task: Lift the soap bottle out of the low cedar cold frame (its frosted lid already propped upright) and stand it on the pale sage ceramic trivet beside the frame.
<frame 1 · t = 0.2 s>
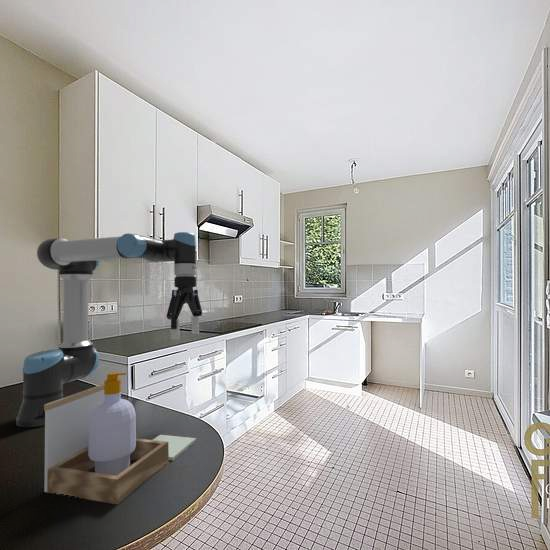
hand: (185, 336, 122), 28 cm above the counter, fingers open, 13 cm apart
trivet: (166, 448, 97), on the counter
cold frame: (112, 475, 82), on the counter
soap bottle: (112, 476, 82), resting in cold frame
lid: (80, 431, 86), on the counter
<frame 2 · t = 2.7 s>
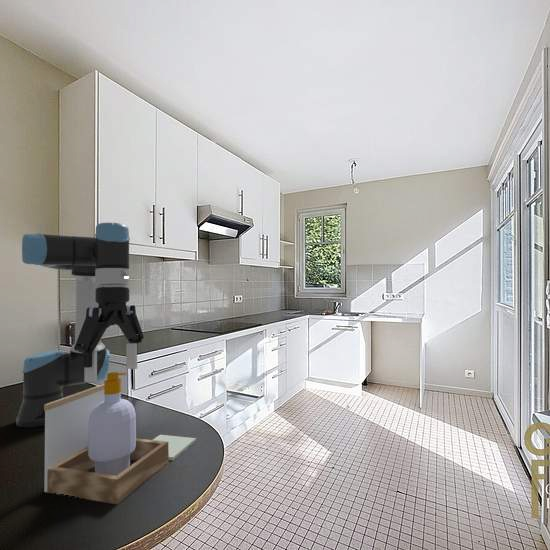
hand: (112, 374, 83), 24 cm above the counter, fingers open, 13 cm apart
nothing on the counter moved.
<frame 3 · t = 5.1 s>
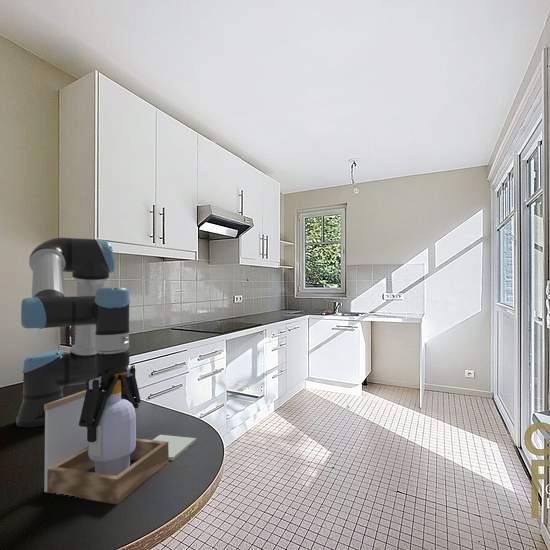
hand: (112, 444, 83), 7 cm above the counter, fingers closed on soap bottle, 10 cm apart
soap bottle: (112, 476, 82), resting in cold frame, touching gripper
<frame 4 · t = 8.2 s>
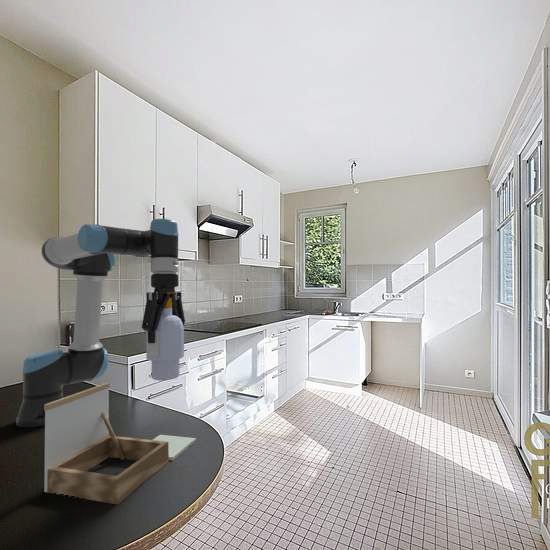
hand: (165, 351, 98), 27 cm above the counter, fingers closed on soap bottle, 10 cm apart
soap bottle: (165, 378, 98), point 19 cm above the counter, touching gripper
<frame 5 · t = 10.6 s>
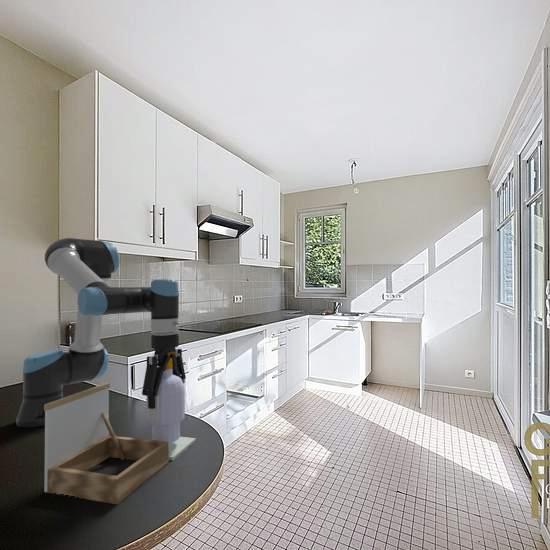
hand: (165, 413, 97), 10 cm above the counter, fingers closed on soap bottle, 10 cm apart
soap bottle: (166, 440, 97), point 2 cm above the counter, touching gripper
when the fingers open (9 cm above the counter, at t = 11.7 s): soap bottle drops 1 cm, resting on trivet.
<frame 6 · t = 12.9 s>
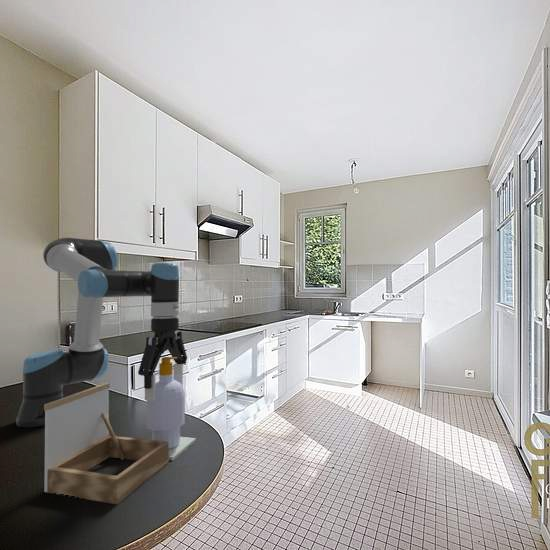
hand: (164, 392, 98), 15 cm above the counter, fingers open, 13 cm apart
soap bottle: (166, 445, 97), point 1 cm above the counter, touching trivet
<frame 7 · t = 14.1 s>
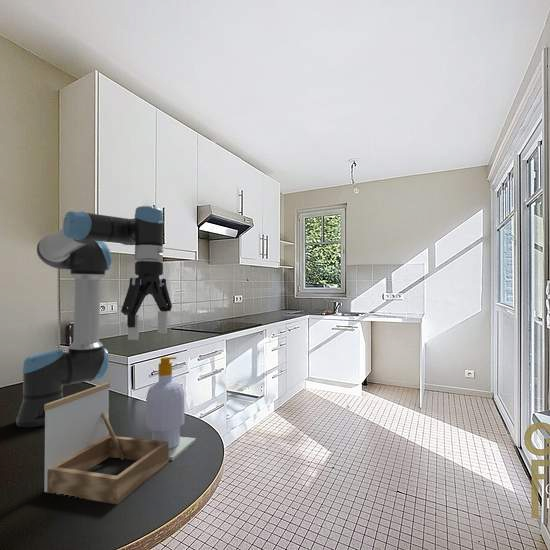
hand: (148, 336, 98), 31 cm above the counter, fingers open, 13 cm apart
nothing on the counter moved.
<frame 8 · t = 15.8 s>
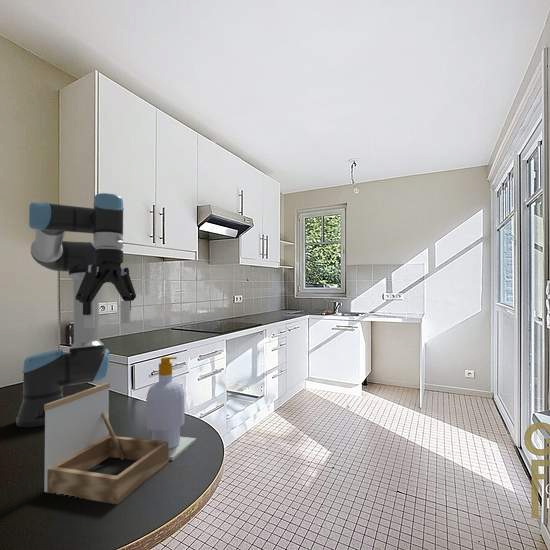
hand: (108, 325, 96), 35 cm above the counter, fingers open, 13 cm apart
nothing on the counter moved.
at the end: soap bottle 0.1 cm from the trivet (horizontally); soap bottle tilted 0°; the gripper is holding nothing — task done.
